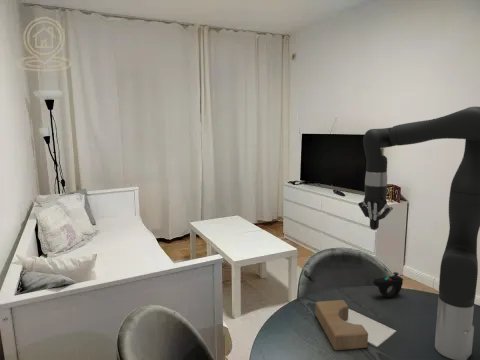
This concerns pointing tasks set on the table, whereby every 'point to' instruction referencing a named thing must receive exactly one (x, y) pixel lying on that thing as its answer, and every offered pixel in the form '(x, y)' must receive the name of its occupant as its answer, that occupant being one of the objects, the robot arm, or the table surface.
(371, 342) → the mat
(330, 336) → the decorative block
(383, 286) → the controller
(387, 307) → the table surface
